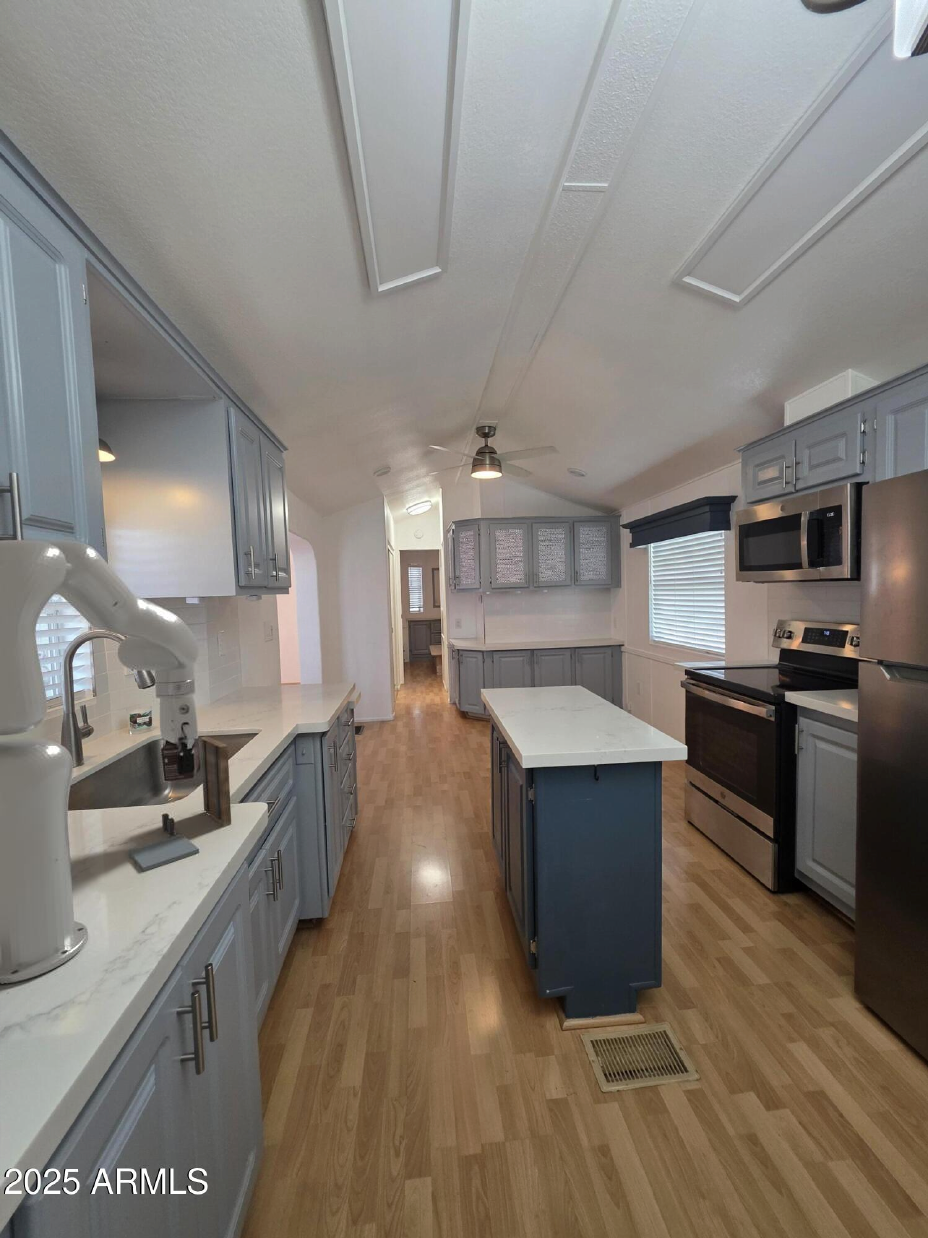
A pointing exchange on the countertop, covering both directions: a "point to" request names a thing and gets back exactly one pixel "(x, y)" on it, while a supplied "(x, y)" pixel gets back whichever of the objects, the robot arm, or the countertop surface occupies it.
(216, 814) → the brown upright panel
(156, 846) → the mat
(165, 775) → the box
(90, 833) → the countertop surface
